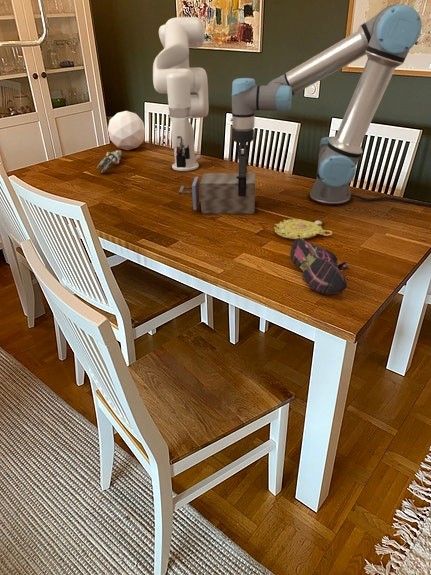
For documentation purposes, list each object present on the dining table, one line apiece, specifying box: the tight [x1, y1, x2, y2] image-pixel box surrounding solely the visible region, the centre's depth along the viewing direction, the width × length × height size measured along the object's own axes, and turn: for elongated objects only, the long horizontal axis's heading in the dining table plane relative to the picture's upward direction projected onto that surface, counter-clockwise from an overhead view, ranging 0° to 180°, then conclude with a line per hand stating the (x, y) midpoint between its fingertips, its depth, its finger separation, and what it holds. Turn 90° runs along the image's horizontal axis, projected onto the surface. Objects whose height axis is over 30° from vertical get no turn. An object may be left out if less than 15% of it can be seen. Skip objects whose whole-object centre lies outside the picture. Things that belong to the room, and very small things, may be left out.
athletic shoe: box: [289, 238, 350, 295], centre depth 119 cm, size 11×22×12 cm
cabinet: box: [199, 172, 256, 215], centre depth 163 cm, size 20×11×11 cm, turn 86°
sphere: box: [107, 110, 146, 151], centre depth 234 cm, size 19×20×20 cm
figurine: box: [96, 150, 123, 174], centre depth 213 cm, size 7×8×30 cm
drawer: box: [178, 176, 201, 211], centre depth 164 cm, size 24×10×9 cm, turn 86°
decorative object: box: [273, 218, 333, 240], centre depth 145 cm, size 21×2×20 cm
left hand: (183, 162), depth 158 cm, fingers open, 9 cm apart
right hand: (242, 189), depth 162 cm, fingers open, 12 cm apart
